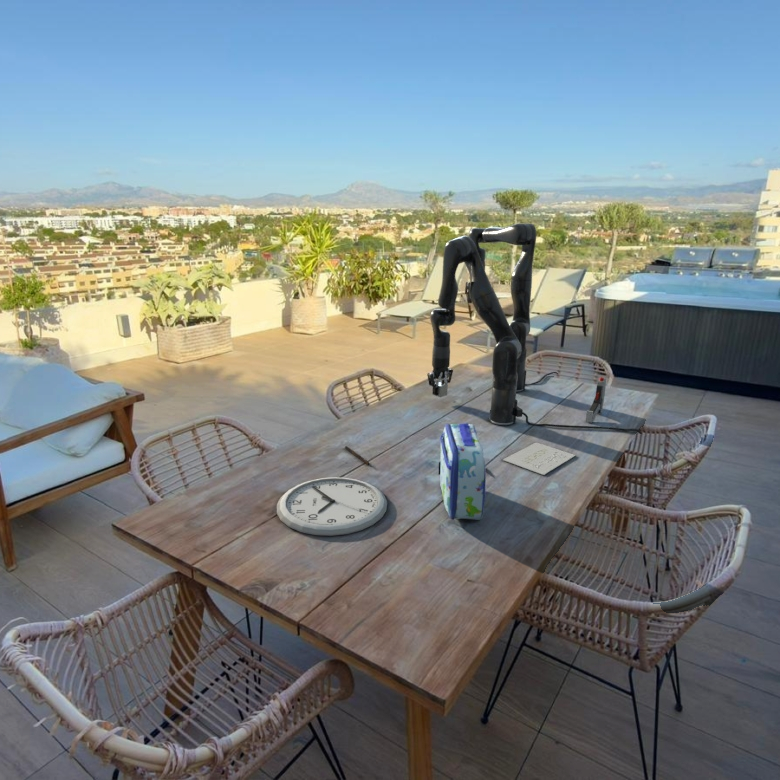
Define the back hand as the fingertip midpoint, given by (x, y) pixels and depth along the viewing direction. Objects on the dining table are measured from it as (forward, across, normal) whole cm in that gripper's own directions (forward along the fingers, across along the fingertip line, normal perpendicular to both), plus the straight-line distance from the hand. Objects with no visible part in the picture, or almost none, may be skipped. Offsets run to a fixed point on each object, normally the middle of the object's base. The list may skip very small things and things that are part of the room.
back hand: (475, 302), depth 266 cm
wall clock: (+37, -137, -66) cm, 157 cm away
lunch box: (+37, -109, -88) cm, 145 cm away
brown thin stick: (+37, -112, -46) cm, 127 cm away
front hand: (+33, -49, -23) cm, 63 cm away
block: (+34, -49, -23) cm, 64 cm away
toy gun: (+37, -15, -77) cm, 87 cm away
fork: (+37, -86, -75) cm, 120 cm away
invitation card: (+37, -66, -85) cm, 114 cm away
